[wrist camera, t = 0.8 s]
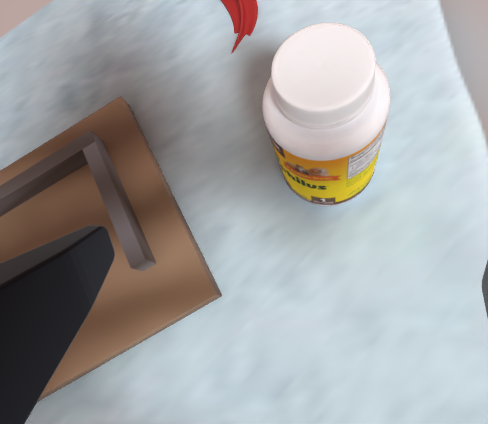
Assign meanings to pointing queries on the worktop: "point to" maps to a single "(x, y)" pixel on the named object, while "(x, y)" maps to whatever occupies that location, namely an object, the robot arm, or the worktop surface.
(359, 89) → the supplement bottle
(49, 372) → the robot arm
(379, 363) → the worktop surface
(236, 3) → the cayenne pepper
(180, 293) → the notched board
